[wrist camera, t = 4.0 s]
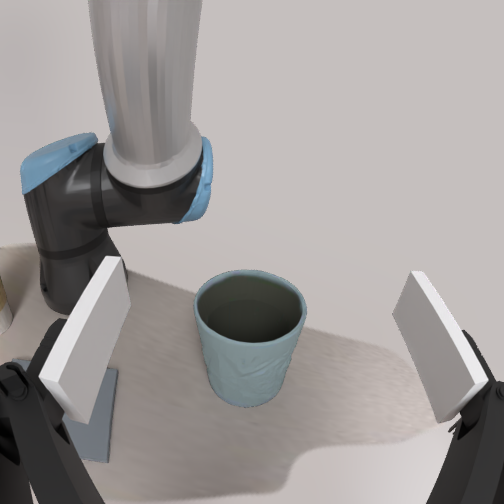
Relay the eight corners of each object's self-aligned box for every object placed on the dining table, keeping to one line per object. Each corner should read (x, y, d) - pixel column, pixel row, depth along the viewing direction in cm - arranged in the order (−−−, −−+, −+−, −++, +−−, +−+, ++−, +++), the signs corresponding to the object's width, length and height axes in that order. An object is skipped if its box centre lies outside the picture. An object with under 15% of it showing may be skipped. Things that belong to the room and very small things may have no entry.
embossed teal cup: (298, 404, 31) (324, 334, 24) (206, 420, 29) (200, 351, 22) (273, 339, 39) (286, 264, 33) (195, 349, 37) (189, 272, 30)
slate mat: (14, 361, 30) (12, 358, 29) (118, 371, 32) (117, 368, 32) (-9, 435, 20) (-12, 433, 19) (108, 462, 22) (106, 461, 22)
